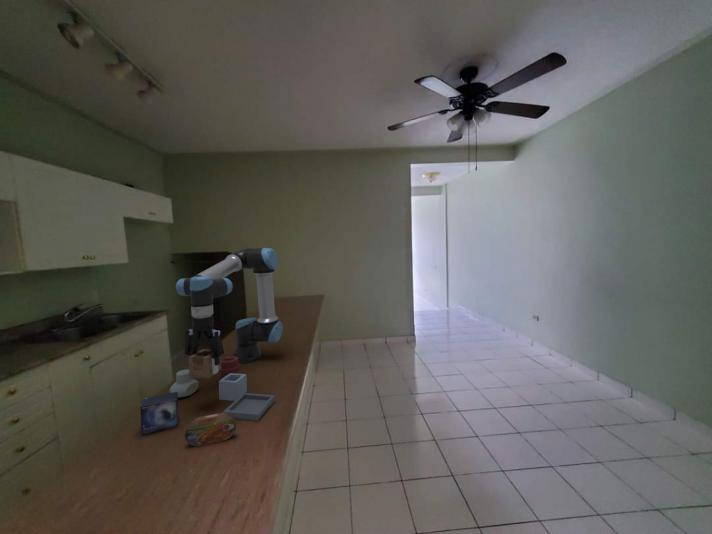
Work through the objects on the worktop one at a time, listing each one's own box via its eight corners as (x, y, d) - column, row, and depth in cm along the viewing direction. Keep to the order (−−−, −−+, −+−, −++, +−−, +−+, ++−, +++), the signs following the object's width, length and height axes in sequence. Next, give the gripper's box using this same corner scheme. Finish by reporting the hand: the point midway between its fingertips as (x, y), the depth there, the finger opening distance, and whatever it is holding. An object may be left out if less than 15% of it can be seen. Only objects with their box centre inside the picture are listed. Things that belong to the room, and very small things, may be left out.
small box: (140, 436, 95) (139, 406, 94) (144, 426, 100) (143, 397, 100) (177, 427, 100) (176, 398, 99) (179, 418, 105) (178, 390, 105)
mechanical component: (227, 389, 127) (213, 384, 132) (245, 380, 136) (231, 376, 141) (226, 362, 127) (212, 358, 131) (244, 355, 135) (230, 352, 140)
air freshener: (186, 387, 129) (185, 366, 129) (202, 389, 128) (201, 367, 127) (166, 399, 119) (165, 376, 118) (182, 401, 117) (181, 378, 116)
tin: (184, 448, 89) (183, 423, 88) (187, 442, 92) (186, 417, 91) (236, 438, 93) (235, 414, 93) (237, 433, 96) (236, 409, 96)
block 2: (230, 390, 126) (230, 373, 126) (246, 391, 125) (246, 374, 125) (219, 399, 118) (218, 381, 118) (236, 401, 117) (236, 382, 117)
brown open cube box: (203, 368, 116) (202, 349, 115) (221, 369, 115) (220, 350, 114) (189, 377, 108) (188, 357, 108) (208, 378, 107) (207, 358, 106)
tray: (243, 398, 119) (243, 393, 119) (274, 401, 117) (274, 395, 117) (223, 418, 105) (223, 411, 105) (258, 421, 103) (258, 414, 103)
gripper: (171, 317, 107) (174, 374, 109) (221, 319, 104) (223, 378, 106) (186, 313, 115) (188, 366, 117) (232, 314, 112) (235, 369, 113)
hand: (205, 372), depth 111 cm, fingers closed on brown open cube box, 8 cm apart
